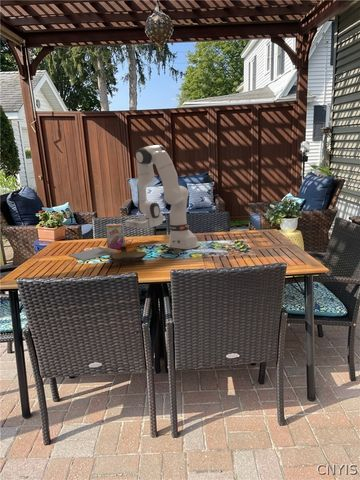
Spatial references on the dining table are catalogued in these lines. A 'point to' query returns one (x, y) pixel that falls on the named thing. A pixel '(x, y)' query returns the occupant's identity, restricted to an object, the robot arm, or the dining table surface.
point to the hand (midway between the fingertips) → (127, 225)
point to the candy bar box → (115, 235)
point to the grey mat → (93, 253)
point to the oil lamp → (126, 255)
